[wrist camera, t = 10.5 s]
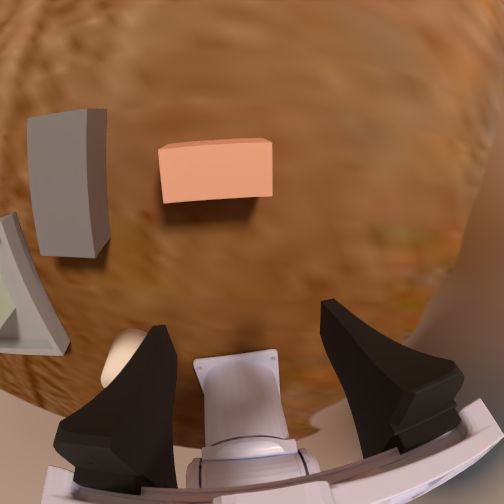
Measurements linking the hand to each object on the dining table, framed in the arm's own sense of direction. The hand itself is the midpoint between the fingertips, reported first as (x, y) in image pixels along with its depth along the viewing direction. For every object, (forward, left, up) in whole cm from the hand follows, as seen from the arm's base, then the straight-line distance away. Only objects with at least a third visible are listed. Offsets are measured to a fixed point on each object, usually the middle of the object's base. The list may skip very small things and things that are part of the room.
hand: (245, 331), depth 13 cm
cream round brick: (-9, +10, -9) cm, 17 cm away
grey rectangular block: (+7, +10, -10) cm, 16 cm away
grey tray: (-1, +24, -9) cm, 26 cm away
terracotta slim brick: (+6, 0, -10) cm, 11 cm away
